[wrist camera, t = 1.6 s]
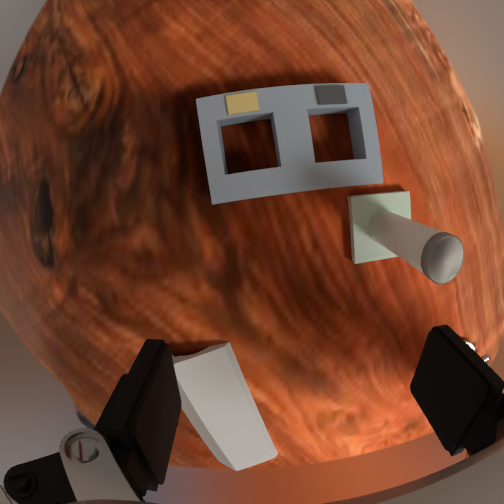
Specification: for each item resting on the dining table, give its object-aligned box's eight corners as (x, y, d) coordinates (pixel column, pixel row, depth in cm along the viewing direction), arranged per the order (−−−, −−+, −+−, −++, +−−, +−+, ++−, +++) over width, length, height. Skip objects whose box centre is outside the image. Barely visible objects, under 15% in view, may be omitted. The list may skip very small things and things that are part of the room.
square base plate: (405, 190, 32) (409, 191, 30) (406, 251, 34) (410, 254, 33) (347, 196, 32) (350, 196, 31) (351, 260, 34) (355, 263, 33)
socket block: (356, 92, 28) (369, 82, 24) (369, 181, 31) (384, 183, 27) (202, 107, 29) (195, 98, 25) (216, 200, 32) (211, 204, 28)
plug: (397, 208, 31) (465, 231, 19) (398, 241, 32) (461, 279, 20) (367, 211, 31) (427, 238, 19) (368, 246, 32) (425, 288, 20)
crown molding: (278, 451, 46) (279, 465, 42) (218, 459, 47) (217, 472, 43) (228, 339, 38) (226, 354, 34) (151, 354, 39) (143, 368, 36)
